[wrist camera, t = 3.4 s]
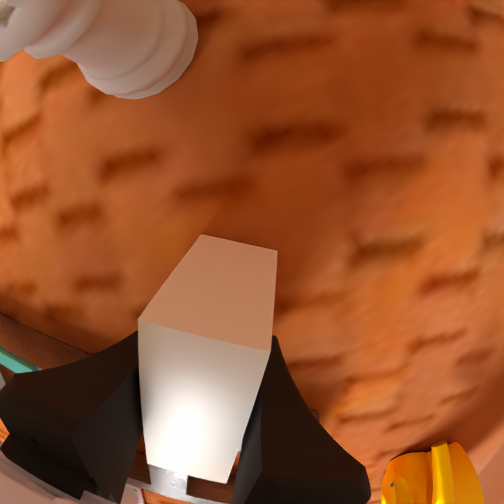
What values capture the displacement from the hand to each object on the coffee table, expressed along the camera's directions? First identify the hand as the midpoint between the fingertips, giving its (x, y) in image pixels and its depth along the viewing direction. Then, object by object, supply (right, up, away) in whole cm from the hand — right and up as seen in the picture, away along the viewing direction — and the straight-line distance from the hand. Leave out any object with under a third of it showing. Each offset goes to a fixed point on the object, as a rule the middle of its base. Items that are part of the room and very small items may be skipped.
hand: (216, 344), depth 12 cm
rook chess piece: (-3, +11, -2) cm, 12 cm away
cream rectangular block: (0, +1, +2) cm, 2 cm away
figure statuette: (+14, -13, +6) cm, 20 cm away
